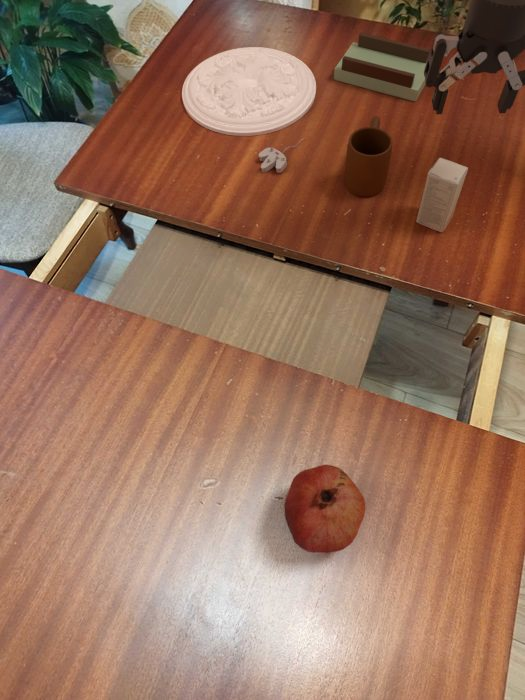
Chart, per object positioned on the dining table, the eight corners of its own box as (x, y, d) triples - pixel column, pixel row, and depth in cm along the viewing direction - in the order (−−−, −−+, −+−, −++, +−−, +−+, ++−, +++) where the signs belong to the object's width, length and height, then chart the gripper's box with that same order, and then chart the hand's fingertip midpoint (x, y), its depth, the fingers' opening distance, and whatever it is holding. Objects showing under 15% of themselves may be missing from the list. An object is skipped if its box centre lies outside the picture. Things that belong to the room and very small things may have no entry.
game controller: (252, 169, 102) (251, 158, 100) (279, 132, 107) (279, 121, 105) (279, 178, 101) (279, 167, 98) (305, 140, 105) (306, 128, 103)
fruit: (311, 462, 74) (313, 436, 65) (375, 504, 71) (387, 482, 62) (266, 528, 70) (262, 510, 61) (332, 576, 67) (338, 564, 58)
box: (452, 217, 94) (471, 167, 84) (441, 234, 92) (459, 184, 83) (424, 206, 96) (439, 155, 86) (413, 221, 94) (427, 172, 84)
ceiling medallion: (327, 58, 118) (328, 43, 115) (299, 144, 105) (300, 130, 102) (205, 44, 122) (203, 30, 120) (164, 126, 109) (160, 112, 107)
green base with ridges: (431, 73, 114) (437, 50, 109) (415, 101, 109) (420, 78, 105) (351, 53, 118) (354, 30, 114) (333, 79, 114) (335, 56, 110)
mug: (350, 150, 103) (355, 106, 95) (390, 155, 102) (399, 112, 94) (339, 195, 98) (344, 153, 90) (382, 201, 97) (390, 159, 88)
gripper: (567, -36, 62) (516, 92, 76) (442, -32, 63) (414, 93, 77) (584, 1, 59) (527, 127, 73) (450, 4, 60) (419, 129, 74)
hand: (469, 110), depth 75 cm, fingers open, 8 cm apart
